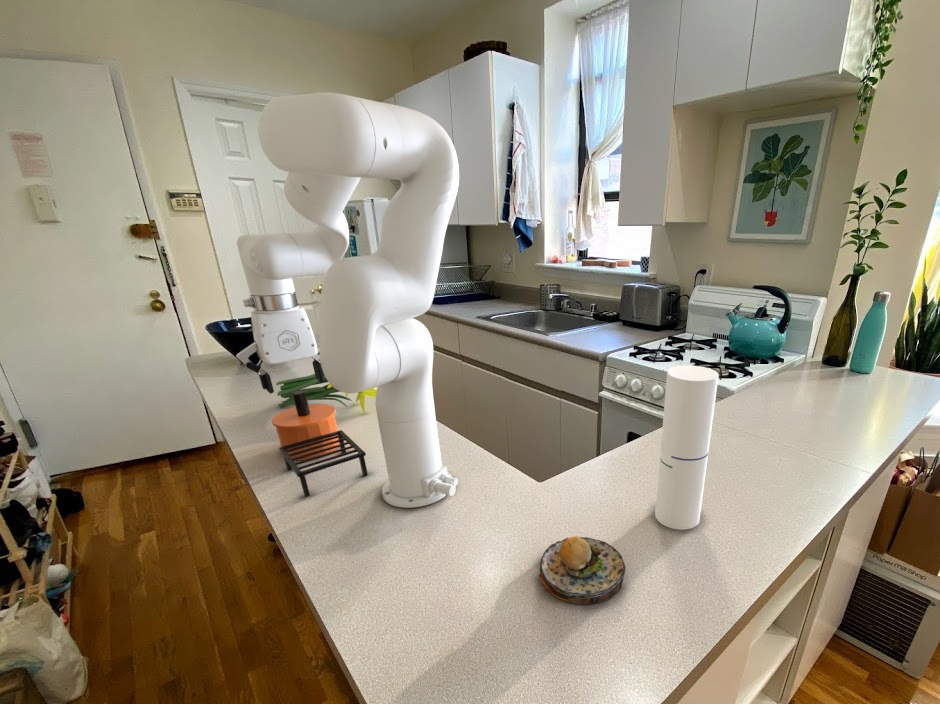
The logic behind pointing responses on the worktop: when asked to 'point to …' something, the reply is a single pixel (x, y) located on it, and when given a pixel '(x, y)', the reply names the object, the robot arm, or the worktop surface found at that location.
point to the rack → (341, 438)
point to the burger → (582, 570)
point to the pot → (308, 437)
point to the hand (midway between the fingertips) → (296, 385)
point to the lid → (303, 413)
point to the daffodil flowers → (316, 391)
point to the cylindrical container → (685, 444)
